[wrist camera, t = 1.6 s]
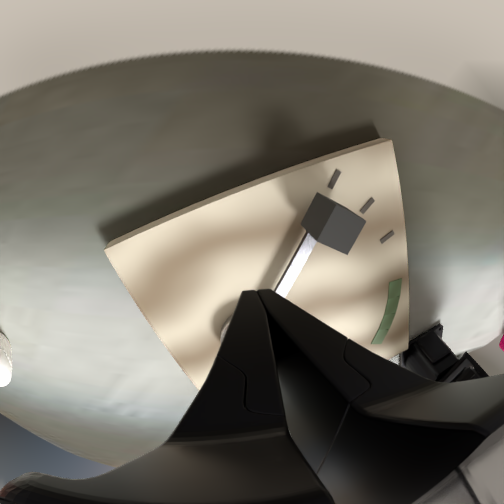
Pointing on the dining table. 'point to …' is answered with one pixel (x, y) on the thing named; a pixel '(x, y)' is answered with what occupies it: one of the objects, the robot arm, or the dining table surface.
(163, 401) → the dining table surface
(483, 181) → the dining table surface
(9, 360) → the white rounded lump
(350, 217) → the dial needle
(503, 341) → the pepper mill
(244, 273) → the dial board
